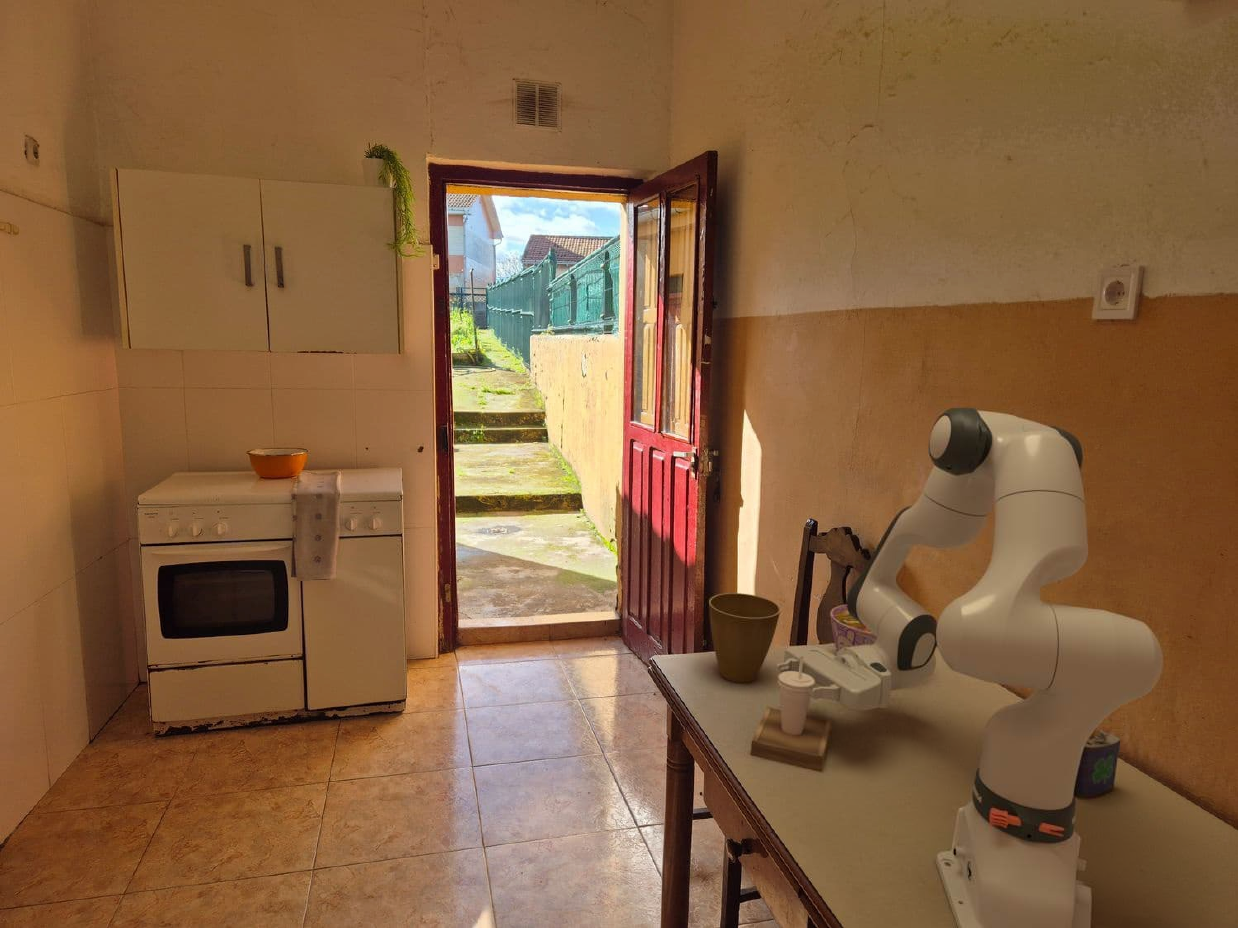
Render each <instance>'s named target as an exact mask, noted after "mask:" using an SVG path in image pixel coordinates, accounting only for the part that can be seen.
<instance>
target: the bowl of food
mask: <svg viewBox="0 0 1238 928" xmlns="http://www.w3.org/2000/svg"><path fill="white" fill-rule="evenodd" d="M829 616H830V622H831V628H832V629H831V630H832V635H833V636H832V637H833V641H834V646H835V647H834V648H835V650H836V653H837V652H838V651H839V650H840V649H842V648H845V647H852V646H859V645H872V644H874V643H875V642H876V639H877V637H876V636H875V635H874V634H873V633H872V632H871V631H870V630H869V629H868V628H866V627H865V626H863V625H862V624H861V623H860V622H858V621H857V620H856V619H854V618H853V617H852V616H851V615H850V614H849V612H848V609H847V604H842V605H841V604H840V605H838V606H835V607H833V608H832V609H831V610H830V612H829Z"/></svg>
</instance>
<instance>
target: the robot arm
mask: <svg viewBox="0 0 1238 928" xmlns="http://www.w3.org/2000/svg"><path fill="white" fill-rule="evenodd" d="M928 454H929V457H930V459H931V461H932V463H933V467H932V470H930V474H929V475H928V477H927V480H926V482H925V484H924V486H923V489H922V492H921V494H920V496H919V498H918V499H917V500H916V502H915V503H914V504H913V505H909V506H906V507H904V508H902V509H901V510H900V511H899V512H898V513H897V514H896V515H895V517H894V518H893V520H892V521H891V522H890V524H889V525H888V527H887V529H886V531H885V532H884V534H883V536H882V537H881V539H880V541H879V543H878V545H877V547H876V548H875V549H874V551H873V553H872V555H871V556H870V559H868V560H869V561H868V563H867V564H866V566H865V568H864V569H863V571H862V572H861V573H860V574H859V576H858V577H857V578H856V579H855V580H854V582H853V583H852V585H850V587H849V590H848V592H847V597H846V605H847V609H848V612H849V614H850V615H851V616H852V617H853V618H854V619H856V620H857V621H858V622H860V623H861V624H862V625H863V626H865V627H866V628H868V629H869V630H870V631H871V632H872V633H873V634H874V635H875V636H876V637H877V639H876V642H875V643H874V644H872V645H859V646H852V647H845V648H842V649H840V650H839V651H838V652H837V651H836V653H835V654H833V653H831V652H829V651H828V650H826V649H825V648H823V647H820V646H817V645H795V646H788V647H787V648H786V649H785V651H784V660H783V662H781V663H777V664H776V667H775V673H776V674H778V675H779V674H781V673H783V672H787V671H796V672H799V664H800V655H803V667H802V673H805V674H807V675H809V676H811V677H812V678H813V679H814V680H815V685H814V686H809V688H808V690H809V692H808V695H809V696H811V697H810V698H812V699H813V700H817V699H824V700H831V701H837V702H838V703H839V704H840V705H843V706H844V707H845V708H846V709H849V710H851V711H855V712H862V711H863V712H864V711H870V710H875V709H884V708H885V709H886V708H888V707H889V704H890V703H889V702H890V698H891V691H897V690H903V689H908V688H911V687H914V686H917V685H920V684H921V683H923V682H925V681H927V680H928V679H930V678H931V677H932V675H933V674H934V672H935V670H936V665H937V659H936V654H935V651H936V648H937V649H938V651H939V654H940V656H941V657H942V660H943V661H944V662H945V664H946V665H947V666H948V668H949V669H950V670H951V671H953V672H957V673H959V674H961V675H965V676H967V677H970V678H974V679H977V680H980V681H983V682H985V683H993V684H999V685H1006V686H1013V687H1019V688H1020V687H1021V688H1026V689H1034V690H1035V691H1034V692H1033V693H1032V694H1031V695H1029V696H1028V697H1026V698H1025V699H1023V700H1020V701H1019V702H1016V703H1012V704H1009V705H1006V706H1003V707H1001V708H999V709H998V710H996V711H995V712H994V713H993V714H992V715H991V717H990V718H989V719H988V720H987V722H986V724H985V726H984V731H983V732H984V733H983V740H982V747H981V755H980V764H979V767H978V768H977V769H976V771H975V774H974V778H973V780H972V781H973V782H972V793H971V794H972V795H971V800H970V801H969V802H967V803H966V804H964V805H962V806H961V807H960V808H958V810H957V815H956V819H955V820H956V821H955V826H954V833H953V837H952V844H951V850H945V851H940V852H938V853H937V855H936V859H935V865H936V866H937V870H938V873H939V876H940V879H941V882H942V884H943V887H944V891H945V893H946V894H945V895H946V897H947V900H948V903H949V906H950V908H951V911H952V915H953V917H954V920H955V924H956V925H957V928H1091V926H1092V907H1093V906H1092V904H1093V903H1092V902H1093V901H1092V900H1093V899H1092V887H1090V886H1087V885H1084V881H1081V880H1078V879H1076V878H1077V871H1080V872H1083V873H1084V872H1086V870H1087V869H1086V868H1087V867H1086V866H1087V860H1086V859H1085V860H1084V859H1082V858H1079V854H1080V852H1079V851H1080V848H1081V847H1080V846H1081V841H1082V838H1081V837H1080V835H1078V833H1077V832H1076V831H1075V822H1076V819H1077V818H1076V817H1077V808H1076V803H1077V801H1076V797H1075V796H1074V795H1073V793H1074V787H1075V782H1076V777H1077V772H1078V768H1079V764H1080V760H1081V756H1082V752H1083V749H1084V747H1085V744H1086V742H1087V741H1088V740H1089V739H1090V737H1091V736H1092V735H1093V733H1094V731H1095V730H1097V727H1098V726H1099V725H1100V724H1101V723H1102V722H1103V721H1104V720H1105V719H1107V717H1108V716H1110V715H1111V714H1112V713H1113V712H1116V710H1117V709H1119V708H1121V707H1122V706H1124V705H1126V704H1128V703H1131V702H1132V701H1134V700H1137V699H1140V698H1142V697H1145V696H1146V695H1147V694H1149V693H1150V692H1151V691H1152V690H1153V689H1154V687H1155V686H1156V685H1157V683H1158V681H1159V680H1160V678H1161V675H1162V672H1163V668H1164V667H1163V666H1164V656H1163V651H1162V646H1161V644H1160V642H1159V640H1158V638H1157V637H1156V635H1155V633H1154V632H1153V631H1152V629H1151V628H1150V627H1149V626H1148V625H1147V624H1146V623H1145V622H1144V621H1140V620H1138V619H1135V618H1132V617H1128V616H1126V615H1122V614H1119V613H1115V612H1112V611H1108V610H1105V609H1098V608H1096V609H1095V608H1089V607H1080V606H1072V605H1064V604H1063V605H1062V604H1055V603H1048V602H1045V601H1042V598H1041V589H1042V587H1044V586H1046V585H1049V584H1052V583H1055V582H1059V581H1061V580H1064V579H1067V578H1069V577H1071V576H1073V575H1074V574H1076V573H1077V572H1079V571H1080V570H1081V569H1082V568H1083V566H1084V565H1085V563H1086V561H1087V559H1088V556H1089V544H1088V532H1087V531H1088V530H1087V514H1086V501H1085V491H1084V484H1083V480H1082V474H1081V470H1082V467H1083V463H1084V462H1083V461H1084V458H1083V457H1084V454H1083V448H1082V444H1081V442H1080V440H1079V439H1078V437H1077V436H1075V434H1072V433H1071V432H1069V431H1067V430H1065V429H1063V428H1060V427H1057V426H1055V425H1049V426H1048V425H1046V424H1042V423H1039V422H1037V421H1034V420H1030V419H1026V418H1021V417H1019V416H1016V415H1013V414H1008V413H1002V412H997V411H989V410H988V411H986V410H977V409H976V408H974V407H952V408H949V409H947V410H945V411H944V412H943V413H941V414H940V415H939V416H938V417H937V419H936V420H935V422H934V423H933V426H932V428H931V431H930V435H929V440H928ZM993 506H994V507H993ZM993 508H994V509H993ZM992 509H993V510H994V527H993V528H994V530H993V531H994V532H993V543H992V545H993V546H992V553H991V558H990V561H989V563H988V566H987V568H986V571H985V573H983V576H982V577H981V578H980V580H979V581H978V582H977V583H976V584H975V585H974V586H973V587H972V588H971V589H970V590H968V591H967V592H966V593H964V594H963V595H961V596H959V597H957V598H956V599H953V601H951V602H950V603H949V604H948V605H947V606H946V607H945V608H944V609H943V611H942V612H941V614H940V617H939V618H938V621H937V619H936V617H934V616H933V615H932V614H931V613H930V612H928V611H927V610H926V609H925V608H924V607H923V606H921V605H920V604H919V603H918V602H916V601H915V600H914V599H913V598H911V597H910V596H909V595H908V594H907V593H906V592H904V591H903V590H901V589H900V587H899V585H898V583H897V575H898V573H899V572H900V570H901V569H902V567H903V565H904V563H905V561H907V558H908V556H909V555H910V553H911V552H912V550H913V549H914V548H915V547H916V546H917V545H921V546H924V547H925V546H926V547H929V548H935V549H947V550H948V549H949V550H950V549H955V548H956V549H957V548H958V549H959V548H961V547H964V546H967V545H968V544H971V543H972V542H974V541H975V540H976V539H977V538H978V537H979V535H980V534H981V532H982V530H983V529H984V527H985V524H986V522H987V520H988V518H989V515H990V512H991V510H992Z"/></svg>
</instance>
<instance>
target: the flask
mask: <svg viewBox="0 0 1238 928" xmlns="http://www.w3.org/2000/svg"><path fill="white" fill-rule="evenodd" d="M1096 731H1097V732H1098V733H1097V734H1096V735H1095V736H1094V738H1091V739H1090V738H1089V739H1088V741H1087V742H1086V744H1085V747H1084V749H1083V752H1082V756H1081V760H1080V764H1079V768H1078V772H1077V777H1076V782H1075V787H1074V793H1073V795H1074V796H1075V799H1081V800H1089V799H1094V798H1098V797H1101V796H1104V795H1107V794H1108V793H1111V792H1112V791H1113V789H1114V786H1115V779H1116V772H1117V771H1116V770H1117V766H1118V759H1119V752H1120V746H1121V738H1119V737H1118V736H1116V735H1114V734H1110V733H1107V732H1106V731H1103V730H1102V729H1099V728H1098V729H1097V728H1096Z"/></svg>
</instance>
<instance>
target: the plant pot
mask: <svg viewBox="0 0 1238 928" xmlns="http://www.w3.org/2000/svg"><path fill="white" fill-rule="evenodd" d="M708 608H709V622H710V623H709V624H710V631H711V636H712V637H711V638H712V642H713V643H712V644H713V647H714V653H715V657H716V660H717V664H718V669H719V671H720V674H721V676H722V677H723V678H724V679H726V680H728V681H730V682H734V683H741V684H744V683H745V684H746V683H750V682H753V681H755V680H756V678H757V676H758V674H759V673H760V670H761V668H762V667H763V665H764V662H765V660H766V657H767V656H768V653H769V650H770V647H771V644H772V642H773V639H774V636H775V632H776V630H777V626H778V621H779V618H780V613H781V606H780V605H779V604H778V603H776V602H775V601H773V600H771V599H768V598H765V597H762V596H758V595H754V594H750V593H749V594H748V593H740V592H727V593H726V592H725V593H719V594H716V595H714V596H712V597H710V598H709V600H708Z"/></svg>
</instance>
